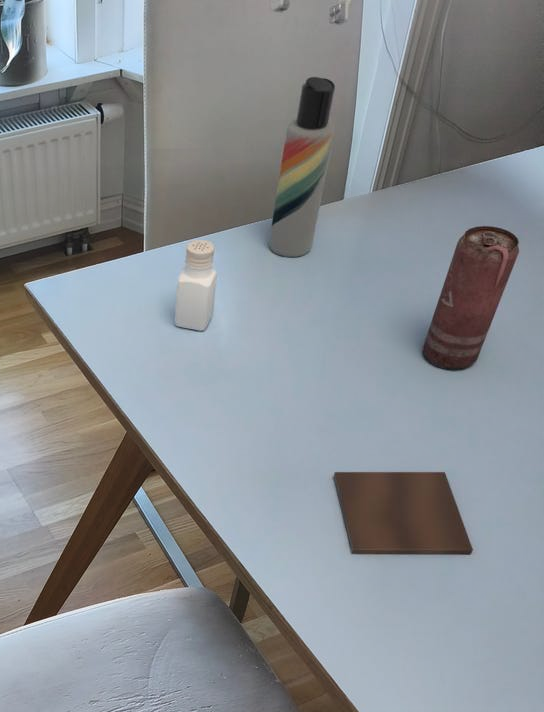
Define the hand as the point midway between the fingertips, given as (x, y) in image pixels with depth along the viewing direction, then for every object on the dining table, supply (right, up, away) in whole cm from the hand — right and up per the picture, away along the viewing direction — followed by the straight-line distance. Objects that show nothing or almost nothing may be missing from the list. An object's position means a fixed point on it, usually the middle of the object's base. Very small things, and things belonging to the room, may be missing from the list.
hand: (309, 16), depth 108 cm
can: (+14, -44, -6) cm, 47 cm away
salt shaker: (-14, -38, 0) cm, 41 cm away
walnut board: (+2, -65, -23) cm, 68 cm away
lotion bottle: (0, -24, +10) cm, 26 cm away
